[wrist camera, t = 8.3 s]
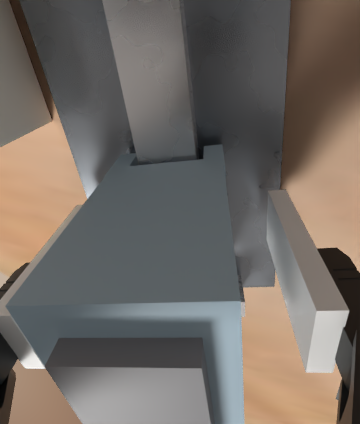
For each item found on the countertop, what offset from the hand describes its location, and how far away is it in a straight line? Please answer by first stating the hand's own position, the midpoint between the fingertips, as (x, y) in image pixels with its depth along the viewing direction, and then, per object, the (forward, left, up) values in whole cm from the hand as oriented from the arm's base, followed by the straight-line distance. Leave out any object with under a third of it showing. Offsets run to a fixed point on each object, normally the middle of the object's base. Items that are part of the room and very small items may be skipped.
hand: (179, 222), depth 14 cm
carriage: (0, 0, -1) cm, 1 cm away
